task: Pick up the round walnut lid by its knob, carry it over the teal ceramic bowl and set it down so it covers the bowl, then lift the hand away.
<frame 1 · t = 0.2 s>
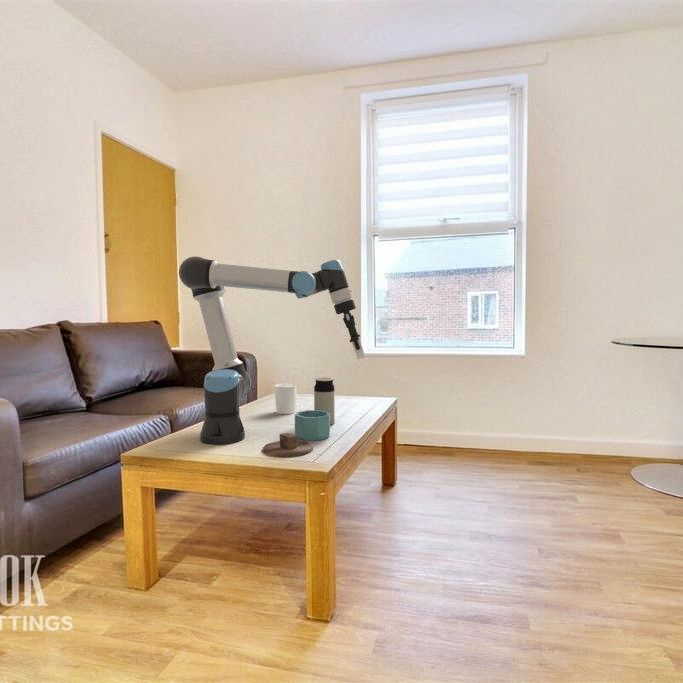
hand: (361, 356, 174), 28 cm above the table, tool tilted 20°, fingers open, 13 cm apart
bowl: (312, 436, 167), on the table
travel mug: (324, 424, 186), on the table
lid: (288, 450, 152), on the table
candle holder: (285, 412, 206), on the table
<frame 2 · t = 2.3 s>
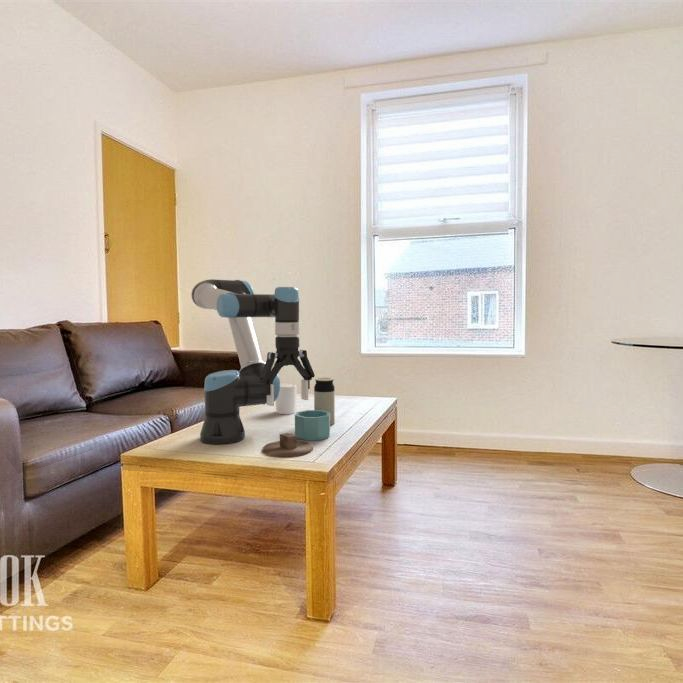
hand: (288, 402, 150), 15 cm above the table, tool pointing down, fingers open, 13 cm apart
nothing on the table moved.
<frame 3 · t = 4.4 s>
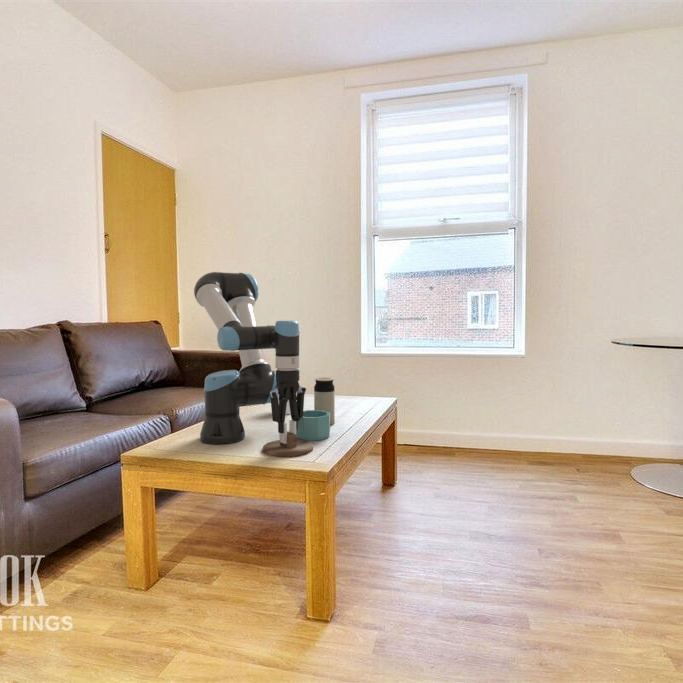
hand: (288, 441, 151), 3 cm above the table, tool pointing down, fingers closed on lid, 3 cm apart
lid: (288, 449, 151), on the table, touching gripper
everything else where it was.
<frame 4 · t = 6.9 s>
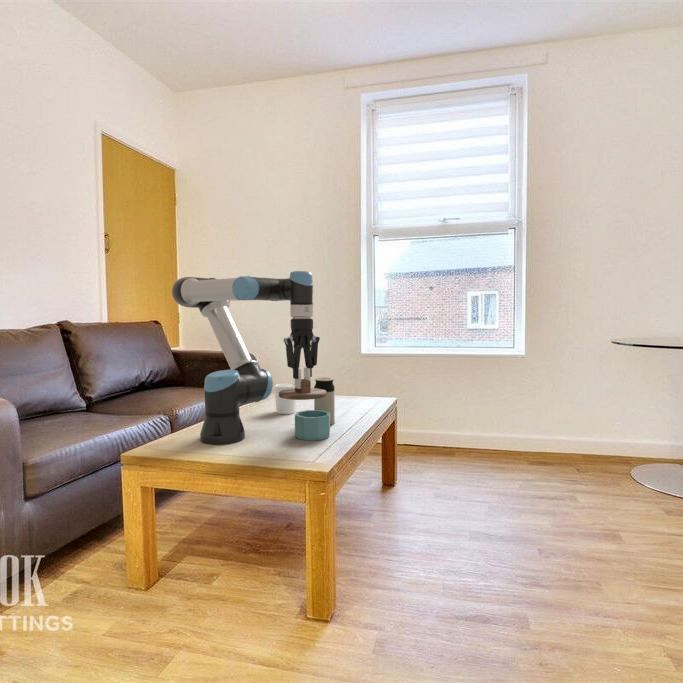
hand: (302, 387, 159), 19 cm above the table, tool pointing down, fingers closed on lid, 3 cm apart
lid: (302, 395, 159), point 16 cm above the table, touching gripper
everything else where it was.
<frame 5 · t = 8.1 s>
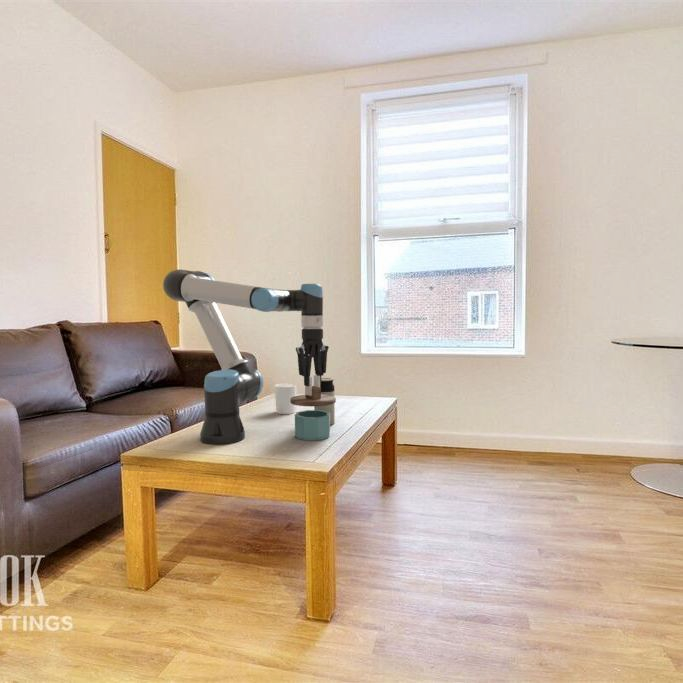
hand: (312, 394, 166), 15 cm above the table, tool pointing down, fingers closed on lid, 3 cm apart
lid: (313, 401, 167), point 12 cm above the table, touching gripper
everything else where it was.
when the fingers open (12 cm above the table, at t = 9.1 s): lid drops 1 cm, resting on bowl.
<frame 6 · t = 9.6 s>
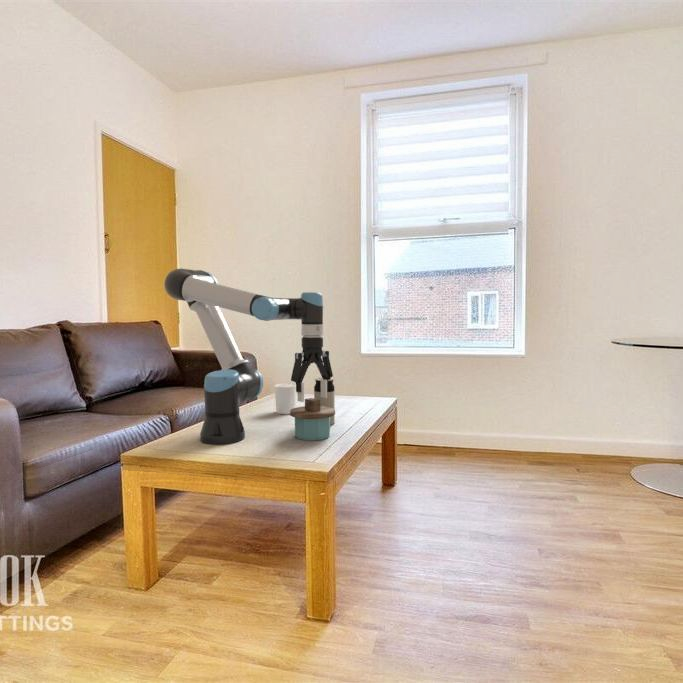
hand: (312, 399, 167), 13 cm above the table, tool pointing down, fingers open, 10 cm apart
lid: (312, 413, 167), point 8 cm above the table, touching bowl
everything else where it was.
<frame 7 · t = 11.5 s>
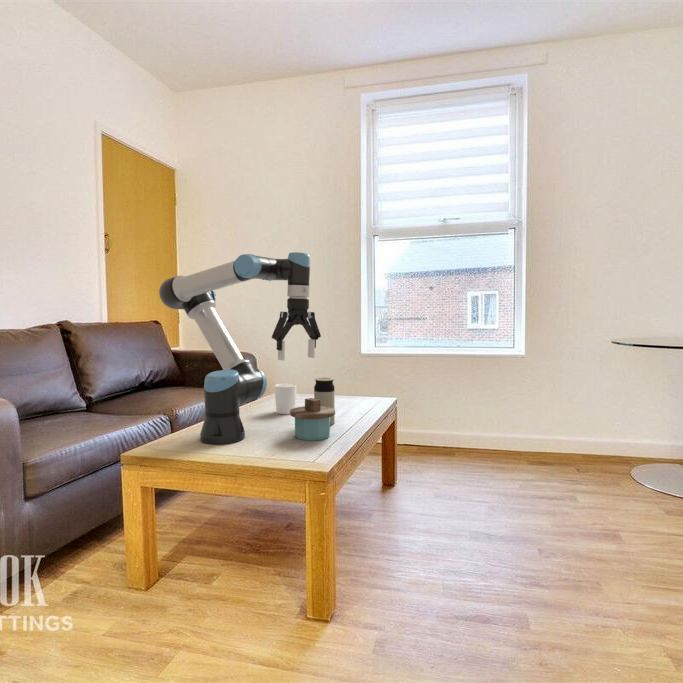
hand: (296, 358, 165), 28 cm above the table, tool pointing down, fingers open, 13 cm apart
nothing on the table moved.
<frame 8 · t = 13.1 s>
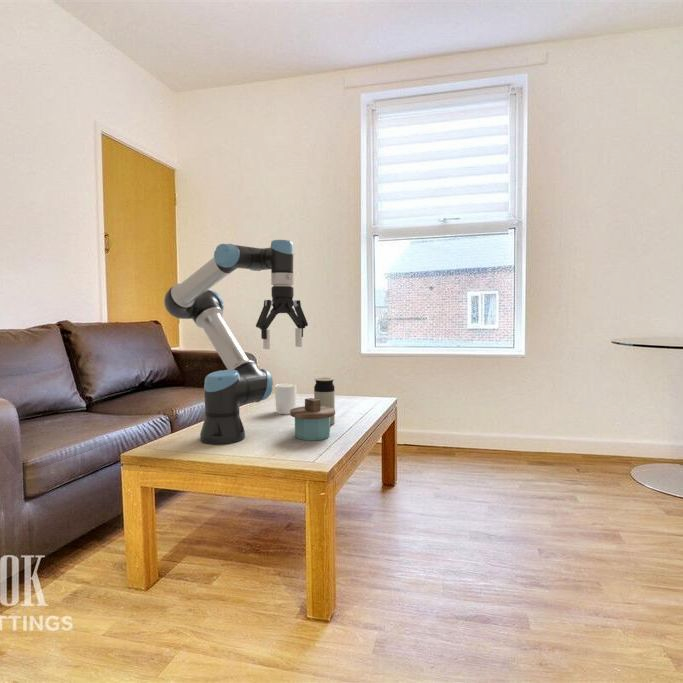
hand: (283, 347, 163), 32 cm above the table, tool pointing down, fingers open, 13 cm apart
nothing on the table moved.
at the end: lid 0.0 cm off-centre on the bowl, point 8.0 cm above the bowl's base; lid tilted 0°; the gripper is holding nothing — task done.
